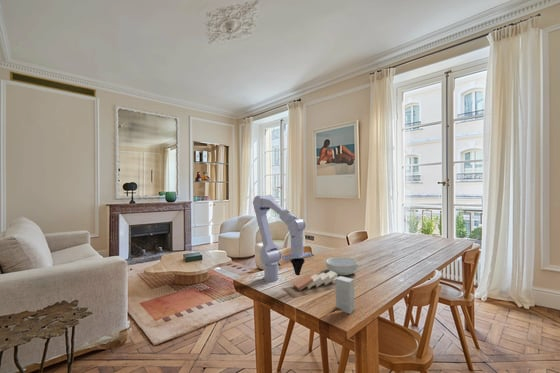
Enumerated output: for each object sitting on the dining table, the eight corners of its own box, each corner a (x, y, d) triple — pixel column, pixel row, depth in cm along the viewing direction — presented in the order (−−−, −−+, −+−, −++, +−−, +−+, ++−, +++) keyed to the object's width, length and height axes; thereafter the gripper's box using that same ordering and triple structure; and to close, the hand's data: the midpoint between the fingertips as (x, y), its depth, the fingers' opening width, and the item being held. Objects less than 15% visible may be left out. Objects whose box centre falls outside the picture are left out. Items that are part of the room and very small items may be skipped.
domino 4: (332, 280, 121) (346, 279, 125) (326, 276, 126) (339, 276, 129) (332, 283, 121) (345, 283, 124) (326, 280, 126) (339, 279, 129)
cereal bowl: (332, 267, 149) (332, 255, 149) (361, 271, 141) (361, 259, 141) (321, 276, 135) (321, 263, 135) (353, 281, 126) (352, 267, 126)
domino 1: (307, 286, 115) (321, 277, 118) (301, 282, 120) (315, 273, 123) (308, 289, 116) (322, 280, 119) (303, 285, 120) (316, 276, 123)
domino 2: (315, 284, 117) (329, 275, 120) (310, 280, 122) (323, 272, 125) (316, 287, 117) (330, 278, 121) (311, 283, 122) (324, 275, 125)
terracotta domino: (298, 287, 114) (312, 278, 117) (293, 283, 118) (306, 275, 121) (299, 290, 114) (313, 281, 117) (294, 286, 118) (308, 278, 121)
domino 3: (324, 282, 119) (336, 273, 122) (318, 279, 124) (330, 270, 127) (325, 285, 119) (338, 276, 122) (319, 281, 124) (331, 273, 127)
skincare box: (355, 310, 97) (354, 279, 97) (350, 314, 94) (349, 282, 94) (340, 305, 101) (340, 275, 101) (335, 309, 98) (334, 278, 98)
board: (292, 300, 107) (292, 297, 107) (281, 290, 117) (281, 288, 117) (341, 289, 117) (341, 287, 117) (327, 281, 127) (327, 279, 127)
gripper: (286, 248, 110) (287, 280, 110) (315, 245, 116) (315, 274, 116) (279, 245, 116) (280, 275, 116) (307, 242, 122) (307, 270, 122)
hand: (297, 274), depth 116 cm, fingers closed
